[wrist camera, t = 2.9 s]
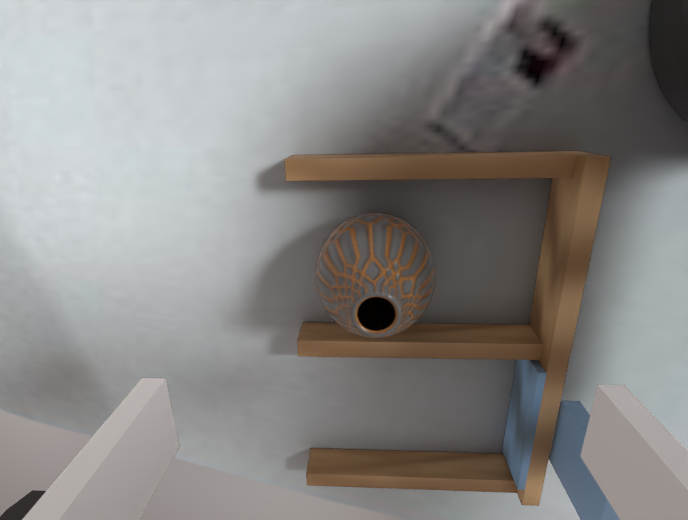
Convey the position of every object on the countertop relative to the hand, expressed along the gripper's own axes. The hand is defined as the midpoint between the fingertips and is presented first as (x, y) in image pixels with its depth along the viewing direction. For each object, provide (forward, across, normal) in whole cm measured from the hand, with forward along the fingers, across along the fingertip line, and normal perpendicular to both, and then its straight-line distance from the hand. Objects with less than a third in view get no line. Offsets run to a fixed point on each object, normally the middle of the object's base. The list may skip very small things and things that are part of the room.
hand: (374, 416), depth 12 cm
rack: (+15, +4, -6) cm, 17 cm away
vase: (+16, 0, 0) cm, 16 cm away
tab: (+12, +13, -12) cm, 22 cm away
